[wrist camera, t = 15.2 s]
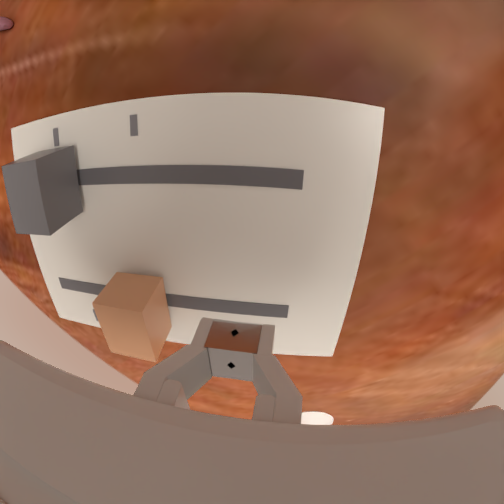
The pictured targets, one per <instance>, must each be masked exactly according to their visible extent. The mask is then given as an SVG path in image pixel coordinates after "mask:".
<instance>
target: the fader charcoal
mask: <svg viewBox="0 0 504 504" xmlns="http://www.w3.org/2000/svg"><path fill="white" fill-rule="evenodd" d="M2 171H3V177H4V182H5V188H6V193H7V198H8V202H9V207H10V211H11V215H12V219H13V223H14V226H15V230H16V233H18V234H32V235H46V236H51V235H52V234H53V233H55V232H56V231H57V230H59V229H60V228H61V227H63V226H64V225H65V224H67V223H68V222H69V221H71V220H72V219H73V218H75V217H76V216H78V215H79V214H80V213H82V212H83V207H82V202H81V196H80V190H79V183H78V177H77V169H76V161H75V152H74V145H72V146H66V147H60V148H54V149H48V150H43V151H38V152H36V153H33V154H30V155H28V156H25V157H23V158H20V159H18V160H15V161H13V162H11V163H8V164H6V165H4V166H2Z"/></svg>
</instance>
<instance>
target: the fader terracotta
mask: <svg viewBox="0 0 504 504" xmlns="http://www.w3.org/2000/svg"><path fill="white" fill-rule="evenodd" d="M92 305H93V308H94V310H95V313H96V316H97V319H98V321H99V324H100V326H101V329H102V331H103V334H104V336H105V339H106V341H107V344H108V346H109V348H110V351H111V352H113V353H117V354H121V355H125V356H129V357H134V358H138V359H143V360H147V361H152V362H157V360H158V357H159V355H160V353H161V350H162V348H163V346H164V343H165V341H166V339H167V336H168V334H169V332H170V330H171V327H172V325H171V320H170V315H169V310H168V304H167V299H166V293H165V288H164V282H163V277H157V276H148V275H139V274H131V273H122V272H116V274H115V275H114V276H113V277H112V278H111V280H110V281H109V282H108V283H107V285H106V286H105V287H104V288H103V290H102V291H101V292H100V293H99V295H98V296H97V297H96V299H95V300H94V301H93V302H92Z"/></svg>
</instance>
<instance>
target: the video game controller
mask: <svg viewBox="0 0 504 504" xmlns="http://www.w3.org/2000/svg"><path fill="white" fill-rule="evenodd" d="M12 26H13V22H12V21H11V20H10V19H7V18H4V17H0V30H6V29H10V28H11V27H12Z"/></svg>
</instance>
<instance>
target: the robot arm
mask: <svg viewBox="0 0 504 504" xmlns="http://www.w3.org/2000/svg"><path fill="white" fill-rule="evenodd" d="M274 336H275V325H269V324H256V323H246V322H235V321H228V320H221V319H212V318H206V317H203V318H202V319H201V320H200V322H199V325H198V327H197V330H196V332H195V335H194V337H193V340H192V342H191V344H190V345H186V346H184V347H183V348H181V349H180V350H178V351H177V352H175V353H174V354H172V355H171V356H169V357H168V358H166V359H164V360H163V361H161V362H160V363H158V364H157V365H155V366H154V367H152V368H151V369H149V370H147V371H146V372H144V374H143V377H142V379H141V381H140V383H139V385H138V387H137V389H136V391H135V393H134V395H130V394H126V393H123V392H120V391H117V390H114V389H111V388H108V387H105V386H102V385H99V384H96V383H94V382H91V381H88V380H85V379H83V378H80V377H78V376H75V375H73V374H70V373H68V372H66V371H63V370H61V369H59V368H56V367H54V366H52V365H50V364H47V363H45V362H43V361H41V360H39V359H36V358H35V357H32V356H30V355H29V354H27V353H24V352H23V351H21V350H19V349H17V348H15V347H13V346H11V345H10V344H8V343H6V342H4V341H1V340H0V504H504V410H503V409H501V408H500V407H498V406H496V405H492V406H487V407H483V408H479V409H475V410H470V411H466V412H461V413H456V414H451V415H445V416H440V417H433V418H427V419H419V420H411V421H402V422H392V423H379V424H358V425H312V424H301V416H302V395H301V394H300V392H299V391H298V389H297V388H296V386H295V385H294V383H293V382H292V380H291V379H290V377H289V376H288V374H287V373H286V371H285V370H284V368H283V367H282V365H281V364H280V362H279V361H278V359H277V358H276V356H273V348H274ZM212 376H216V377H224V378H232V379H238V380H245V381H252V382H253V384H254V386H255V388H256V390H257V392H258V396H256V401H255V406H254V412H253V417H252V420H248V419H241V418H234V417H227V416H221V415H215V414H209V413H203V412H198V411H193V410H190V408H189V405H188V402H187V399H189V398H190V397H191V396H192V395H193V394H194V393H195V392H196V391H197V390H199V389H200V388H201V387H202V386H203V385H204V384H205V383H206V382H207V381H208V380H210V379H211V378H212Z"/></svg>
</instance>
